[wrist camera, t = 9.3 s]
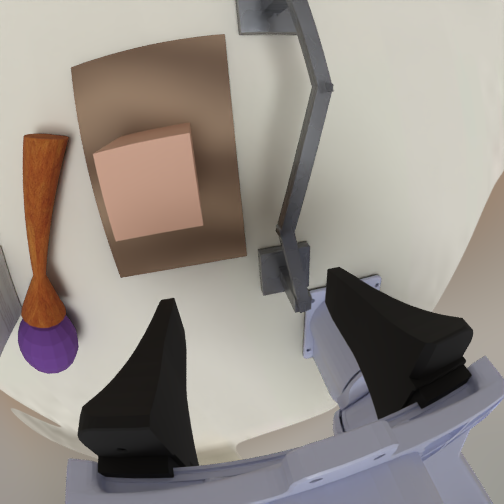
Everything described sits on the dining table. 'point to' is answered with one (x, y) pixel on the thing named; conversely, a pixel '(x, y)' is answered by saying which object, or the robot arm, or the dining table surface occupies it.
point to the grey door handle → (290, 252)
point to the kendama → (43, 260)
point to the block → (150, 182)
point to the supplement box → (7, 304)
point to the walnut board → (161, 115)
